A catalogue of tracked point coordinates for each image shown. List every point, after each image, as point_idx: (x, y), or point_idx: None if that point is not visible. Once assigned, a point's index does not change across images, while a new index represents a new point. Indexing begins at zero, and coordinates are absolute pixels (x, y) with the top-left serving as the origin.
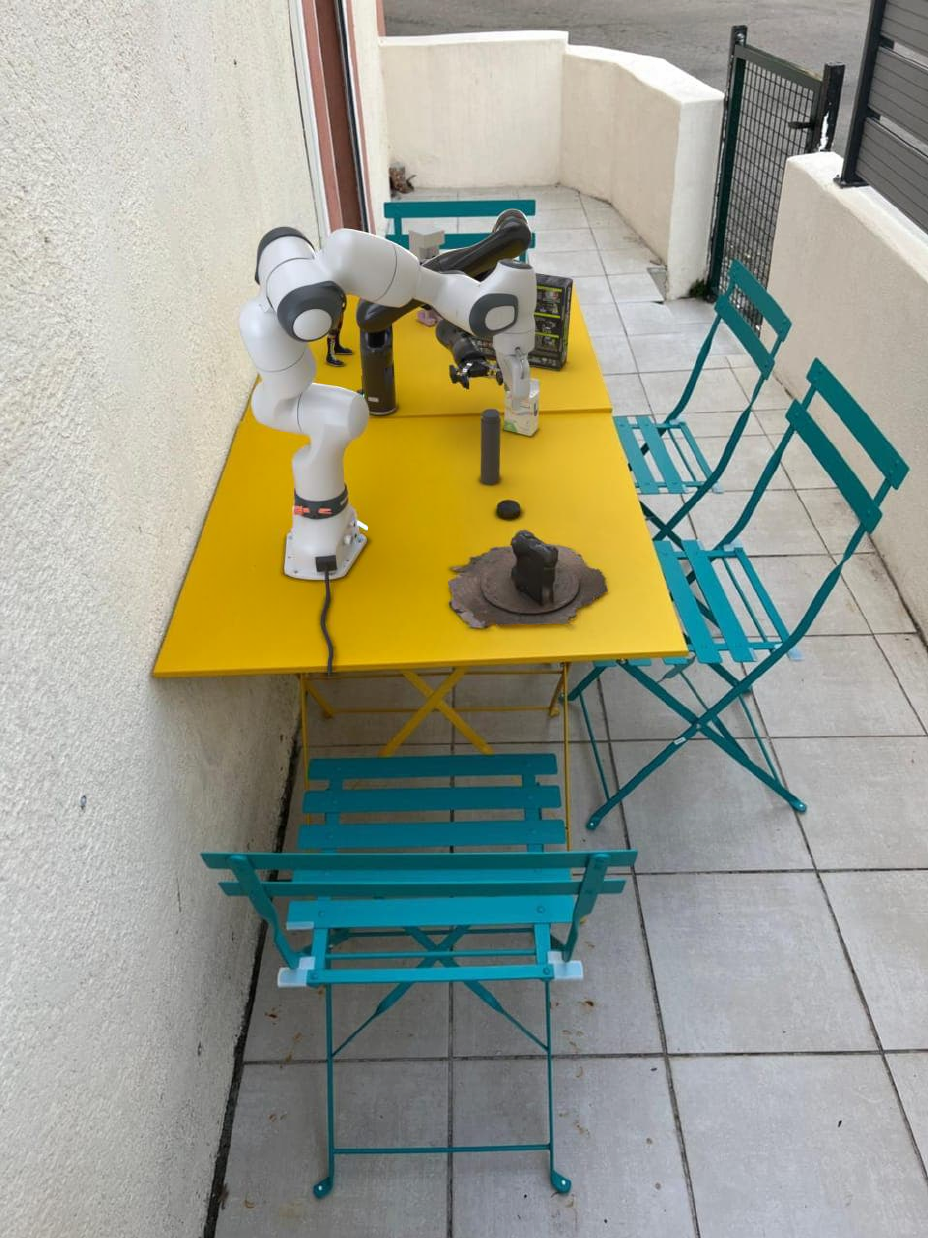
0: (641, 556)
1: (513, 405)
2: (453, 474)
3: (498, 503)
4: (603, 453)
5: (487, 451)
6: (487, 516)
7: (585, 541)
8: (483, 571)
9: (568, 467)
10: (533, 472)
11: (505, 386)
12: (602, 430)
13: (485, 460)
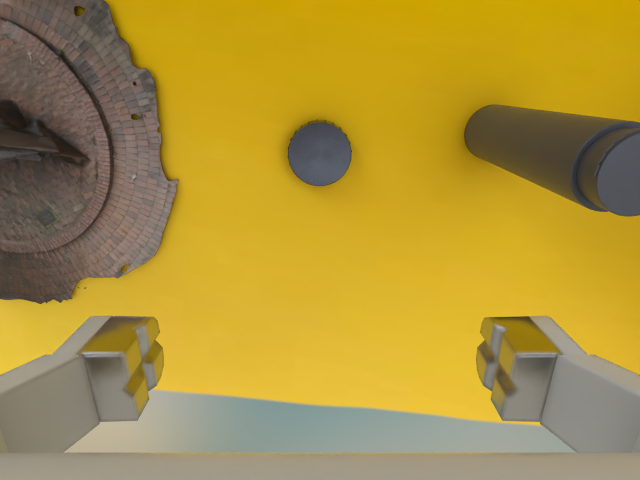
0: None
1: (65, 345)
2: (556, 25)
3: (337, 129)
4: None
5: (516, 131)
6: (313, 92)
7: (185, 296)
8: (39, 30)
9: None
10: (491, 249)
11: (503, 344)
12: None
13: (505, 121)
